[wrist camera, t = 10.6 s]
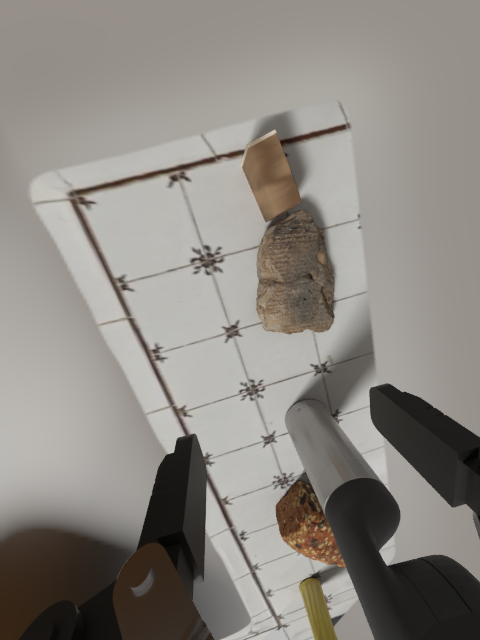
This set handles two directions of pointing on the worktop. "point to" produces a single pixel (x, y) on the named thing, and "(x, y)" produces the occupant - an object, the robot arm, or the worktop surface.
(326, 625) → the vase
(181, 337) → the worktop surface
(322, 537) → the bread
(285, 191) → the walnut block
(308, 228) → the clay tablet
